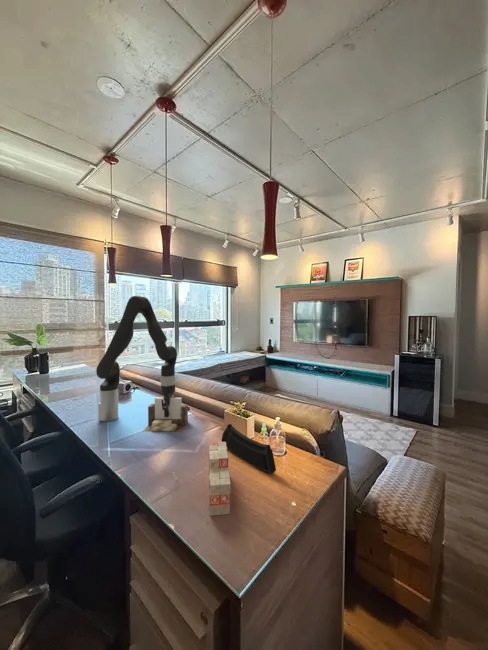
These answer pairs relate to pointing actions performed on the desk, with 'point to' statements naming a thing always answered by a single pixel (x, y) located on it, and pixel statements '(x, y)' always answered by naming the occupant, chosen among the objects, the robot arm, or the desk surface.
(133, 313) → the robot arm
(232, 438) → the magazine
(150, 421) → the rack
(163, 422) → the offcut upper
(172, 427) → the offcut lower
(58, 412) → the desk surface
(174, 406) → the white square panel
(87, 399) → the desk surface
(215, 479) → the stack of blocks
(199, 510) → the desk surface
